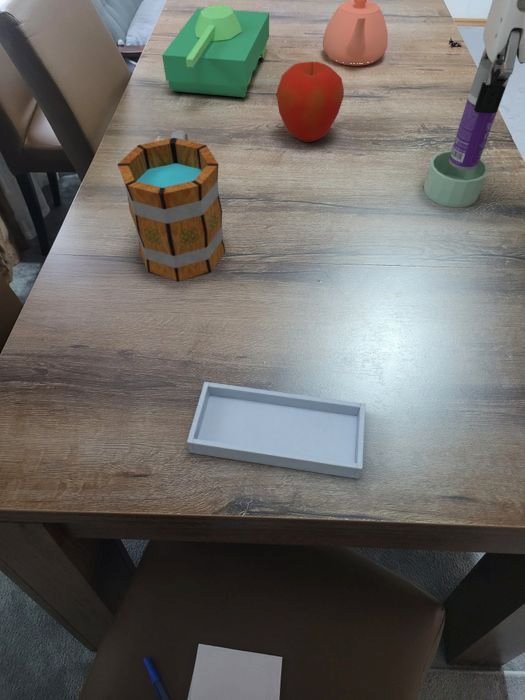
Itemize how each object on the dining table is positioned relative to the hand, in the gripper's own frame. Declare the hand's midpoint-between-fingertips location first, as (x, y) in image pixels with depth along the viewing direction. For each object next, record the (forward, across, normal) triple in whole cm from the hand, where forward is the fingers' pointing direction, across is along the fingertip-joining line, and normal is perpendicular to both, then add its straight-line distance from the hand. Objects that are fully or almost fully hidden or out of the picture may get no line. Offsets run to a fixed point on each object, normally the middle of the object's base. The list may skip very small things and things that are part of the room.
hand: (483, 102), depth 74 cm
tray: (+16, -52, +23) cm, 59 cm away
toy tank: (+15, +37, +51) cm, 64 cm away
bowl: (+16, +1, 0) cm, 16 cm away
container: (+10, 0, 0) cm, 10 cm away
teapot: (+15, +54, +20) cm, 59 cm away
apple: (+15, +15, +27) cm, 35 cm away
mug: (+16, -19, +43) cm, 50 cm away
